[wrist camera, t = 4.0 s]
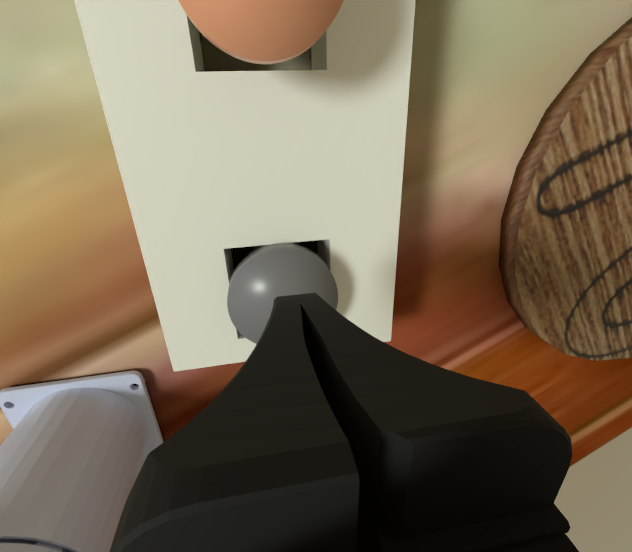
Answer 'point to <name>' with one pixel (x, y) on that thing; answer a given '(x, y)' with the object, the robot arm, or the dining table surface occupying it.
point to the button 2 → (275, 284)
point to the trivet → (577, 213)
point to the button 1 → (262, 26)
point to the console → (255, 160)
